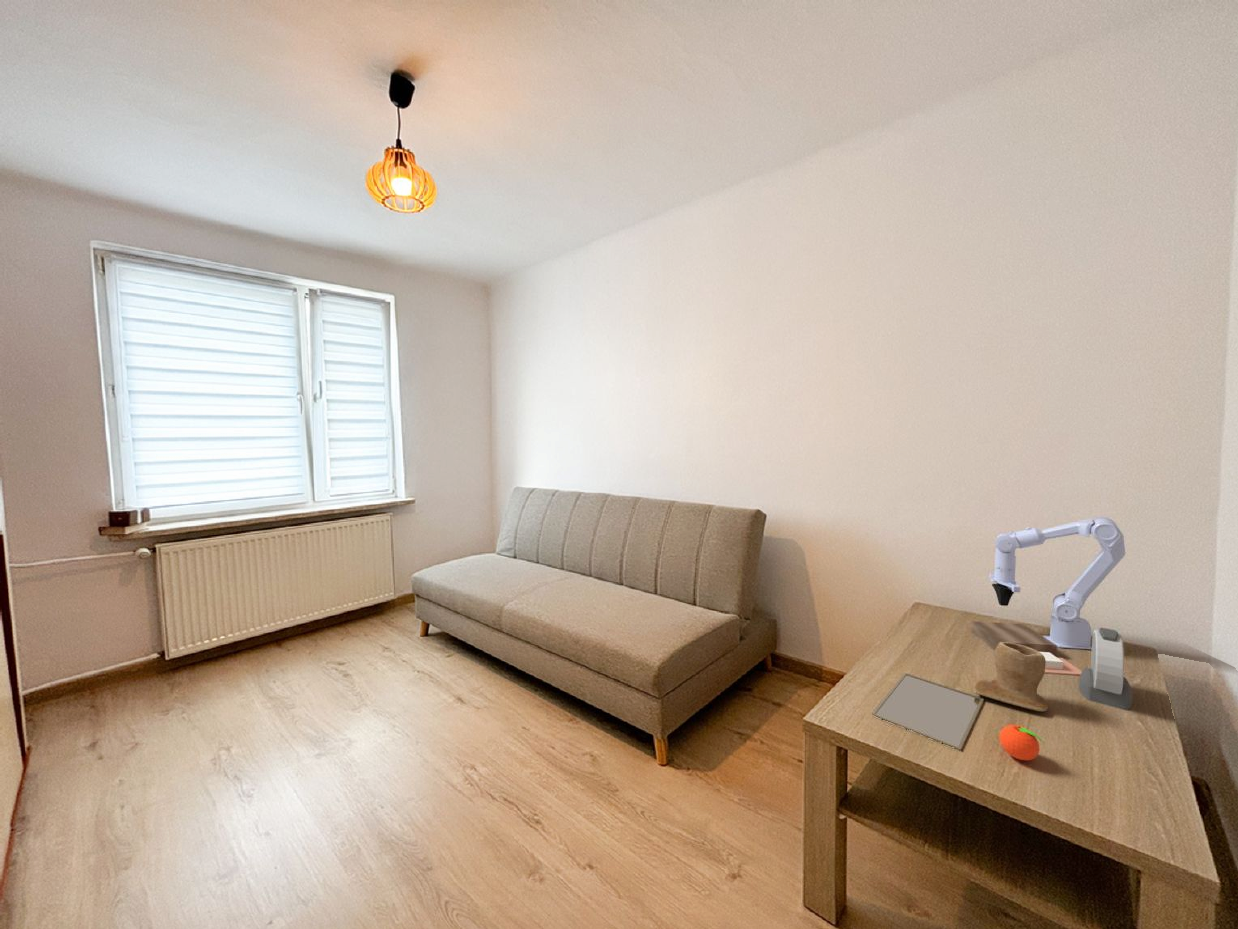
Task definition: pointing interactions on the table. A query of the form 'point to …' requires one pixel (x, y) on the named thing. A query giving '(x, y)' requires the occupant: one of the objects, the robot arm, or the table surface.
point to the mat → (1065, 669)
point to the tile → (1052, 661)
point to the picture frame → (930, 710)
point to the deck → (1012, 636)
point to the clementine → (1019, 742)
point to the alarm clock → (1106, 672)
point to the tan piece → (1016, 677)
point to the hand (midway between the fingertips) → (1003, 605)
